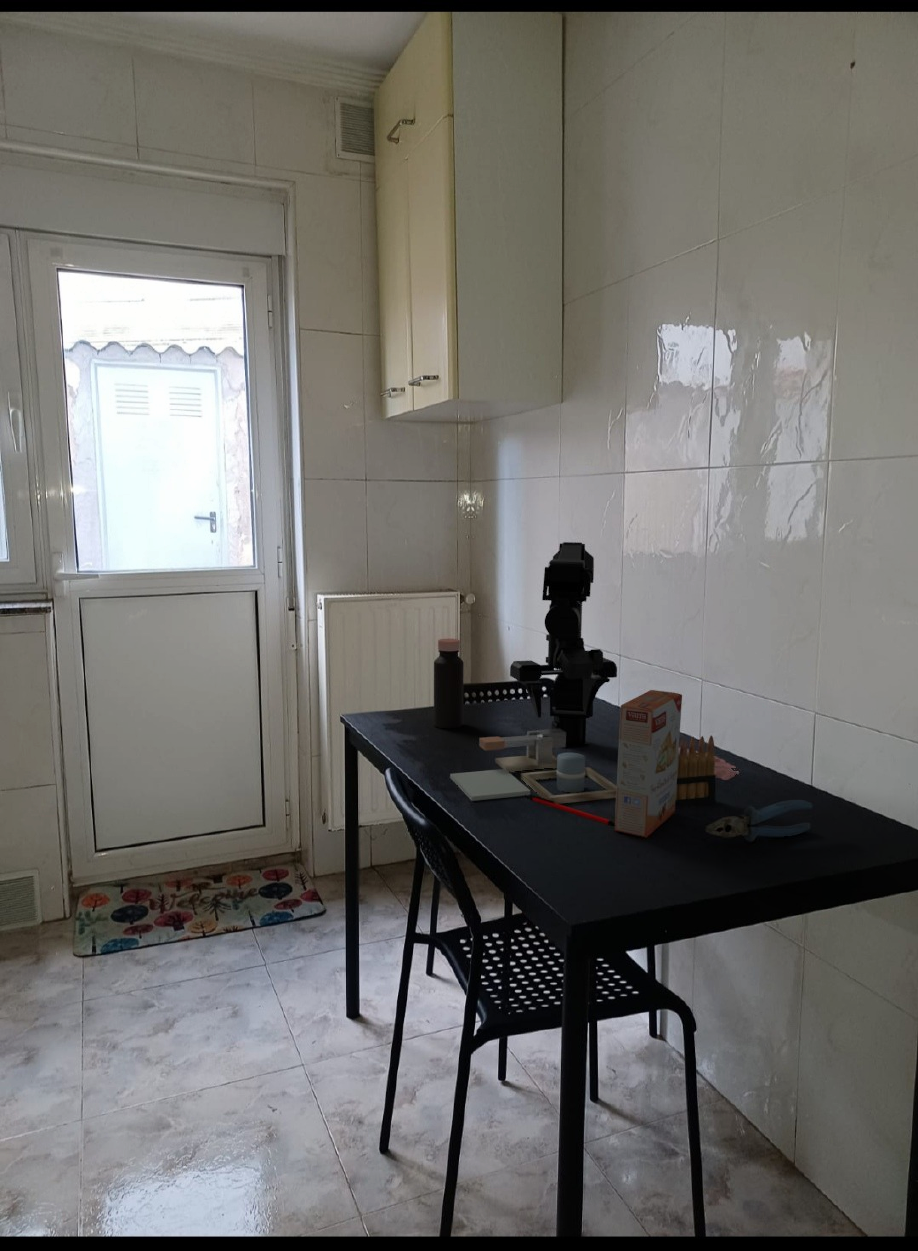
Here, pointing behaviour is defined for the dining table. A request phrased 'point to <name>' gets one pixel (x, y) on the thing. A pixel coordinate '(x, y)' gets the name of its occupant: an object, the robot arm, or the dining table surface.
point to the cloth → (720, 767)
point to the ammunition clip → (696, 774)
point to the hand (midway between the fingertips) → (562, 716)
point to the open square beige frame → (575, 797)
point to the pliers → (752, 817)
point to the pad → (489, 784)
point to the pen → (570, 809)
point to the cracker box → (647, 762)
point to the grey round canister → (570, 772)
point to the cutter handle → (523, 740)
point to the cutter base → (531, 756)
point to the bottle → (448, 685)
